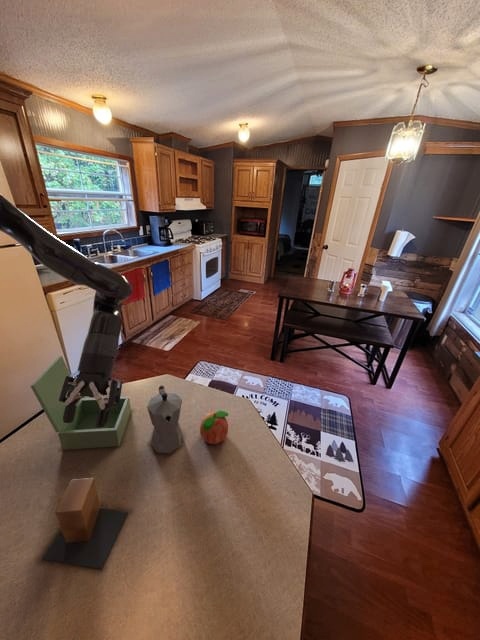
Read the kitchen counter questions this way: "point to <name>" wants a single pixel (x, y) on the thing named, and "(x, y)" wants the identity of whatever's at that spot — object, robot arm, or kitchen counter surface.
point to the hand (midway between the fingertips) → (83, 424)
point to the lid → (52, 392)
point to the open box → (85, 429)
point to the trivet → (89, 542)
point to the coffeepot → (165, 421)
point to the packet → (78, 510)
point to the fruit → (214, 427)
